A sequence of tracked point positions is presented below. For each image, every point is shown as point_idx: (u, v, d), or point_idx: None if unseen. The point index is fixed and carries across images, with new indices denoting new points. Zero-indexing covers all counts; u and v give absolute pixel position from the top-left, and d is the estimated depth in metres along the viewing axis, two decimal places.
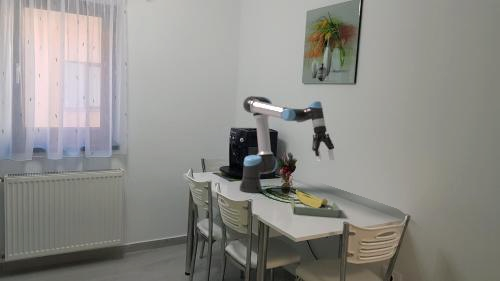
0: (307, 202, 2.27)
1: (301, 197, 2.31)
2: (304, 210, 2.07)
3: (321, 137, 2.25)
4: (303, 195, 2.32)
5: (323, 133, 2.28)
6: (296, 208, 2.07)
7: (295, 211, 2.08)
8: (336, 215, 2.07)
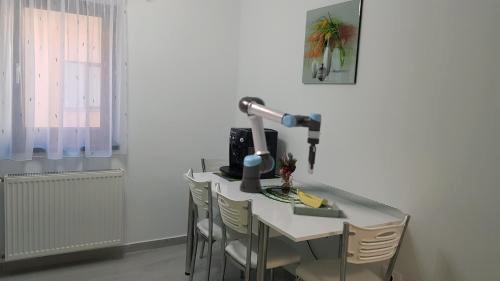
0: (307, 202, 2.28)
1: (301, 197, 2.32)
2: (304, 210, 2.07)
3: None
4: (303, 195, 2.33)
5: None
6: (296, 208, 2.07)
7: (295, 211, 2.08)
8: (336, 215, 2.07)
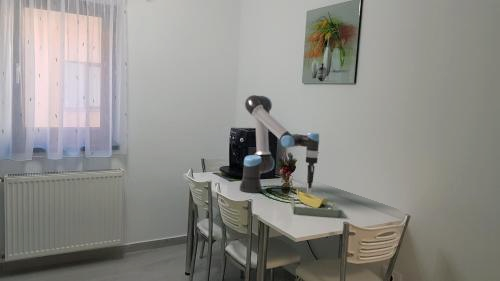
0: (307, 202, 2.28)
1: (301, 197, 2.32)
2: (304, 210, 2.07)
3: None
4: (303, 195, 2.33)
5: None
6: (296, 208, 2.07)
7: (295, 211, 2.08)
8: (336, 215, 2.07)
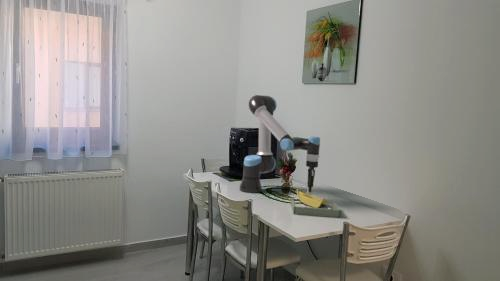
0: (307, 202, 2.28)
1: (301, 197, 2.32)
2: (304, 210, 2.07)
3: (314, 173, 2.37)
4: (303, 195, 2.32)
5: None
6: (296, 208, 2.07)
7: (295, 211, 2.08)
8: (336, 215, 2.07)
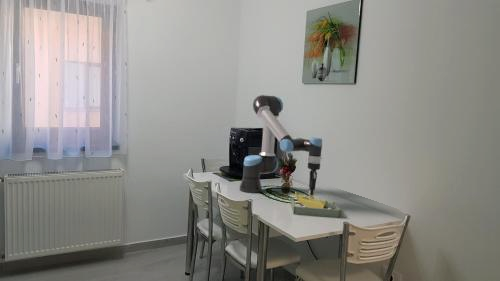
0: (308, 205, 2.21)
1: (301, 200, 2.25)
2: (304, 210, 2.07)
3: None
4: (303, 197, 2.25)
5: None
6: (296, 208, 2.07)
7: (295, 211, 2.08)
8: (336, 215, 2.07)
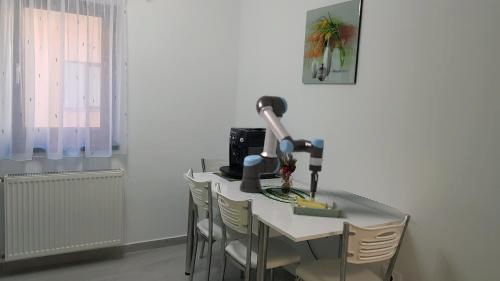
0: None
1: (301, 202, 2.19)
2: (304, 210, 2.07)
3: (317, 177, 2.24)
4: (302, 200, 2.20)
5: None
6: (296, 208, 2.07)
7: (295, 211, 2.08)
8: (336, 215, 2.07)
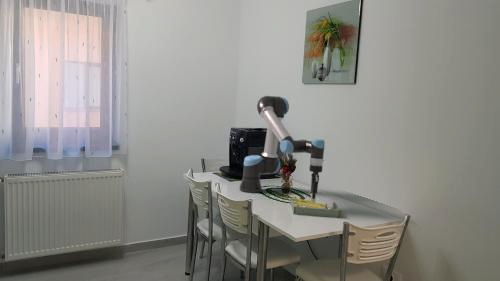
0: None
1: (300, 203, 2.17)
2: (304, 210, 2.07)
3: None
4: (302, 201, 2.17)
5: None
6: (296, 208, 2.07)
7: (295, 211, 2.08)
8: (336, 215, 2.07)
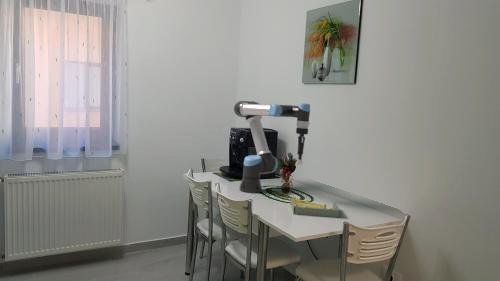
0: None
1: (299, 204, 2.15)
2: (304, 210, 2.07)
3: (304, 140, 2.36)
4: (301, 202, 2.16)
5: None
6: (296, 208, 2.07)
7: (295, 211, 2.08)
8: (336, 215, 2.07)
